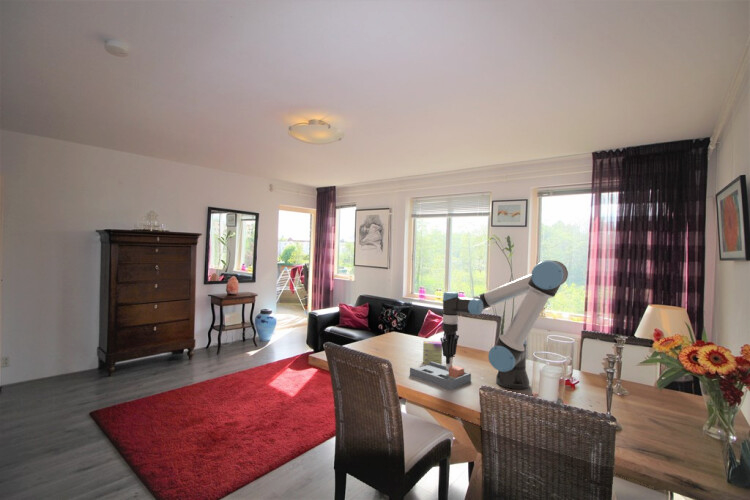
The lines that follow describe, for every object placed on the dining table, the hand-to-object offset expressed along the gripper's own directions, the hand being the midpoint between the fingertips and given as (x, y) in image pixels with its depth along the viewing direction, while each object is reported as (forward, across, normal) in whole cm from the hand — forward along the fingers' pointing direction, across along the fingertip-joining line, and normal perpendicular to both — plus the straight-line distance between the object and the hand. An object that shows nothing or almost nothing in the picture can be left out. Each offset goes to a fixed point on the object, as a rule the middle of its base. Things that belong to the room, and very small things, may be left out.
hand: (449, 369), depth 179 cm
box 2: (+5, +3, -3) cm, 6 cm away
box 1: (+5, -14, -22) cm, 26 cm away
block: (+2, 0, +4) cm, 5 cm away
